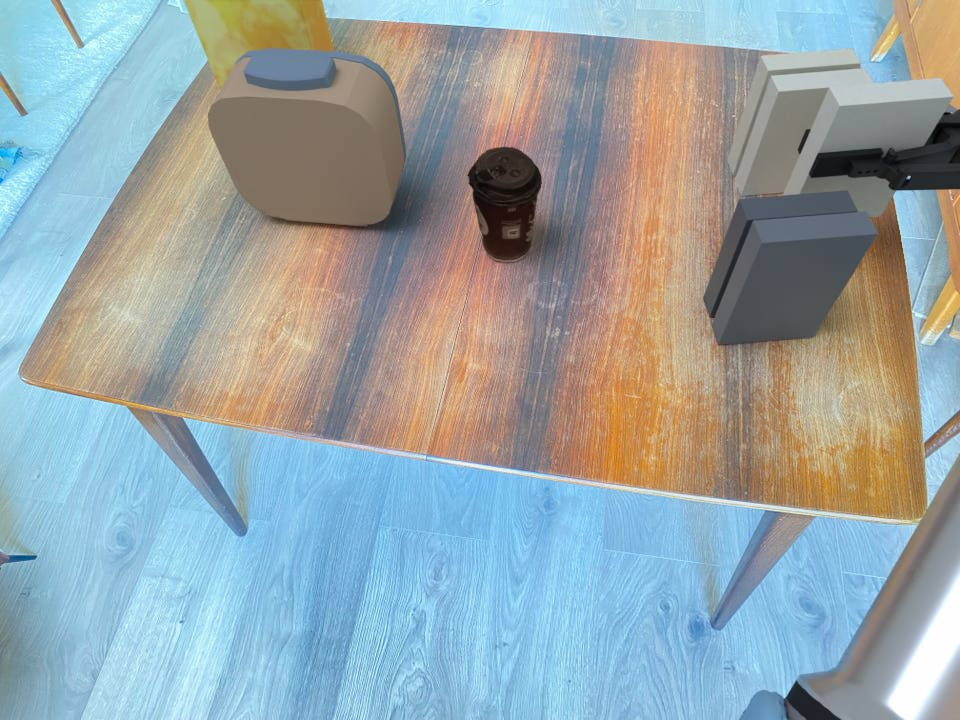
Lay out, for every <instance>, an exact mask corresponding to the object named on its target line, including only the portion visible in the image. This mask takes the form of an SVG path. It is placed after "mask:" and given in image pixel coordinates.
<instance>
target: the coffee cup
mask: <svg viewBox="0 0 960 720" xmlns="http://www.w3.org/2000/svg"><path fill="white" fill-rule="evenodd" d="M467 178H468V185H469V186H470V187H471V189H472V200H473V205H474V206H473V207H474V210H475V214H476V219H477V224H478V228H479V231H480V233H481V236H482V238H481V239H482V240H481V241H482V245H483V250H484V251H485V252H486V254H487V256H488V257H490V258H492V259H493V261H495V262H500V263H501V262H502V263H504V264H505V263H506V264H507V263H515V262H518V261H522V259H523V258H525V257H526V255H528V253H529V252H530V251H531V248H532V241H533V232H534V227H535V218H536V210H537V203H538V196H539V193H540V191H541V189H542V184H543V181H542V179H543V177H542V174H541V171H540V169H539V167H538V166H537V165H536V163H534V161H533V159H532V158H531V157H530V156H528V155H527V154H526V153H525V152H523V151H522V150H520V149H518V148H516V147H513V146H500V147H499V146H496V147H493V148H489V149H486V150H485V152H483V153H481V154H480V156H478V157H477V160H475V162H474V164H473V165H472V166H471V168H470V169H469V170H468V172H467Z"/></svg>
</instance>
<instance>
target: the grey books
mask: <svg viewBox="0 0 960 720" xmlns="http://www.w3.org/2000/svg"><path fill="white" fill-rule="evenodd" d="M878 235H879V232H878V230H877V229H876V227H875V225H874V223H873V220H872V219H871V217H869V215H868V213H867V212H866V211H865V212H858V210H857V208H856V206H855V204H854V202H853V200H852V198H851V196H850V194H849V192H848V191H847V190H845V191H832V192H820V193H807V194H795V195H783V194H782V195H771V196H760V197H758V196H757V197H747V198H738V200H737V203H736V206H735V208H734V212H733V214H732V217H731V219H730V222H729V226H728V228H727V231H726V234H725V236H724V239H723V242H722V245H721V247H720V250H719V253H718V255H717V259H716V261H715V263H714V266H713V269H712V272H711V275H710V278H709V281H708V282H707V283H708V284H707V286H706V289H705V292H704V295H703V298H702V299H703V302H704V305H705V308H706V311H707V315H708V317H709V318H713V320H712V323H711V327H712V330H713V334H714V337H715V339H716V343H717V345H718V346H725V345H734V344H735V345H736V344H737V345H738V344H750V343H762V342H773V341H776V342H777V341H787V340H798V339H801V340H802V339H810V338H811V339H812V338H814V337H815V336H816V334H817V333H818V332H819V329H820V328H821V326H822V325H823V323H824V322H825V320H826V318H827V316H828V315H829V313H830V312H831V310H832V308H833V307H834V306H835V304H836V302H837V301H838V299H839V297H840V296H841V294H842V292H843V291H844V289H845V288H846V286H847V284H848V283H849V281H850V280H851V278H852V277H853V276H854V273H855V272H856V270H857V269H858V268H859V265H860V264H861V262H862V260H863V259H864V258H865V256H866V254H867V253H868V251H869V250H870V247H872V244H873V243H874V242H875V240H876V238H877V237H878Z"/></svg>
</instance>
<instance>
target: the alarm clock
mask: <svg viewBox="0 0 960 720" xmlns="http://www.w3.org/2000/svg"><path fill="white" fill-rule="evenodd" d="M207 122H208V129H209V131H210V134H211V137H212V139H213V142H214V144H215V146H216V149H217V150H218V153H219V155H220V158H221V159H222V162H223V163H224V166H225V168H226V171H227V172H228V174H229V177H230V179H231V181H232V183H233V185H234V187H235V189H236V191H237V192H238V193H239V195H240V196H241V197H242V198H243V200H244V201H245V202H246V203H247V204H248V205H250V206H251V207H252V208H253V209H254V210H257V211H258V212H260V213H262V214H265V215H267V216H269V217H274V218H278V219H283V220H285V221H287V222H289V221H290V222H300V223H313V224H326V225H338V226H339V225H340V226H350V227H351V226H352V227H355V226H356V227H365V228H368V226H369V225H376V224H377V223H379V222H382V221H384V220H385V219H386V218H387V217H388V216H389V214H390V212H391V208H392V206H393V203H394V199H395V197H396V193H397V190H398V186H399V183H400V180H401V177H402V173H403V171H404V168H405V163H406V159H407V146H406V140H405V133H404V127H403V122H402V115H401V110H400V104H399V97H398V94H397V91H396V87H395V85H394V82H393V81H392V79H391V77H390V76H389V73H387V72H386V70H384V68H383V67H382V66H381V65H380V64H378V63H377V62H375V61H373V60H372V59H370V58H368V57H367V56H365V55H359V54H354V53H349V52H344V51H339V50H338V51H337V50H334V51H318V50H297V49H276V48H270V49H261V50H252V51H248V52H246V53H245V54H244V55H242V56H241V57H240V58H239V59H238V60H237V62H236V63H235V65H234V67H233V69H232V70H231V72H230V74H229V75H228V77H227V79H226V81H225V82H224V84H223V86H222V88H221V89H220V88H219V92H218V93H217V95H216V96H215V98H214V100H213V102H212V104H211V105H210V108H209V110H208V112H207Z"/></svg>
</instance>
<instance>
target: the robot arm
mask: <svg viewBox="0 0 960 720" xmlns="http://www.w3.org/2000/svg"><path fill="white" fill-rule="evenodd" d="M810 131H811V129H806V131H805V133H804V136H803V138H802V140H801V143H800V145H799V147H798V152H799V154H801V152H802V149H803V147H804V145H805V142H806V140H807V138H808V135H809V133H810ZM891 150H892V147H891V148H890V149H889V150H888V152H887V154H886V156H885V157H882V155H883V153H884V152H883V150H882V149H881V148H873V149H861V150H849V151H837V152H825V153H818V154H817V156H816V158H815V160H814V163H813V165H812V167H811V169H810V171H809V175H810V177H811V178H819V177H831V176H843V175H848V177H851V178H859V177H860V178H861V177H873V176H877V177H878V178H880V179H886V180H887V181H888V182H889V185H888V187H889V188H890V189H891V190H895V191H896V192H897V191H898V192H899V191H900V192H901V191H943V190H946V191H949V190H960V108H959V109H958V108H957V107H955V106H953V105H952V104H951V103H950V104H949V105H948V107H947V109H946V110H945V112H944V113H943V115H942V117H941V118H940V120H939V122H938V123H937V125H936V127H935V128H934V130H933V131H932V133H931V135H930V136H929V138H928V140H927V141H926V143H925V145H924V146H922V147H917V148H912V149H907V150H902V151H897V152H896V151H895V150H894V149H893V150H892V151H891ZM908 177H909V178H908ZM746 706H747V707H746V708H745V709H744V710H743V711H742V713H741V715H740V717H739V719H738V720H960V452H959V453H958V455H957V457H956V458H955V460H954V462H953V464H952V465H951V467H950V469H949V470H948V472H947V474H946V476H945V478H944V479H943V481H942V483H941V485H940V486H939V488H938V490H937V491H936V493H935V494H934V497H933V498H932V500H931V502H930V503H929V505H928V507H927V509H926V510H925V512H924V514H923V515H922V517H921V519H920V521H919V522H918V524H917V525H916V528H915V530H914V531H913V533H912V534H911V536H910V538H909V540H908V541H907V543H906V545H905V547H904V548H903V550H902V552H901V553H900V555H899V557H898V558H897V560H896V562H895V564H894V565H893V567H892V569H891V570H890V572H889V574H888V576H887V578H886V579H885V581H884V583H883V585H882V586H881V588H880V590H879V591H878V593H877V595H876V596H875V598H874V599H873V602H872V604H871V605H870V607H869V609H868V611H867V612H866V614H865V616H864V617H863V619H862V621H861V622H860V624H859V626H858V628H857V629H856V631H855V632H854V634H853V636H852V638H851V639H850V641H849V643H848V645H847V647H846V648H845V649H844V651H843V654H842V655H841V657H840V659H839V660H838V662H837V663H836V665H835V666H834V667H832V668H830V669H828V670H823V671H816V672H808V673H801V674H799V675H798V676H797V678H796V679H795V681H794V683H793V684H792V686H791V688H790V690H789V691H788V693H787V695H786V696H785V697H783V696H782V694H780V693H779V692H777V691H769V690H767V689H761V690H759V691H757V692H756V693H755V694H753V695H752V697H751V698H750V700H749V703H748V704H747V705H746Z"/></svg>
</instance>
